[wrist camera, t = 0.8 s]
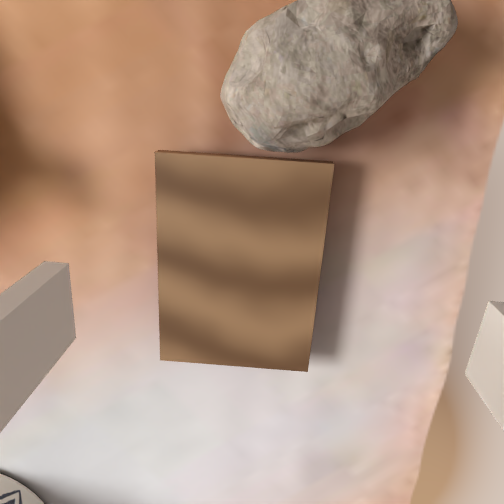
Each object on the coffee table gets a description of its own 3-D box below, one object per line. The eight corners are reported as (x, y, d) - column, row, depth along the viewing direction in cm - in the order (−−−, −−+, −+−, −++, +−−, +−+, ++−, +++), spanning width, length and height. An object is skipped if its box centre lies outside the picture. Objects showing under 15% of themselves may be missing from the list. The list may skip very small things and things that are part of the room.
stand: (165, 147, 32) (154, 152, 29) (329, 158, 32) (334, 164, 29) (168, 341, 39) (160, 360, 36) (305, 351, 38) (307, 371, 36)
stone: (428, 111, 30) (497, 116, 21) (243, 159, 32) (232, 183, 23) (414, -21, 28) (487, -82, 18) (212, 40, 29) (184, 13, 20)
